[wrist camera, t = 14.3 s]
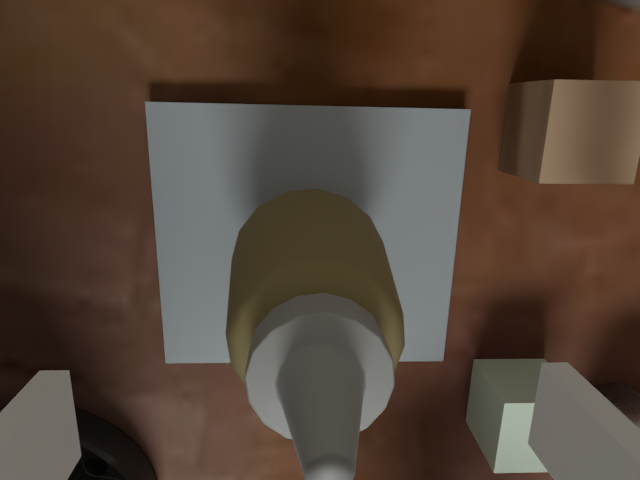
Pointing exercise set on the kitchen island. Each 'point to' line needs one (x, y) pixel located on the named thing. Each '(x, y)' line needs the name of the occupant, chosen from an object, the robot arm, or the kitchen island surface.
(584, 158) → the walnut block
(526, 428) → the sage block
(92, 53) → the kitchen island surface
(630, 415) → the grey metal cylinder
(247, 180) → the light grey rectangular plate
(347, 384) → the squeeze bottle
